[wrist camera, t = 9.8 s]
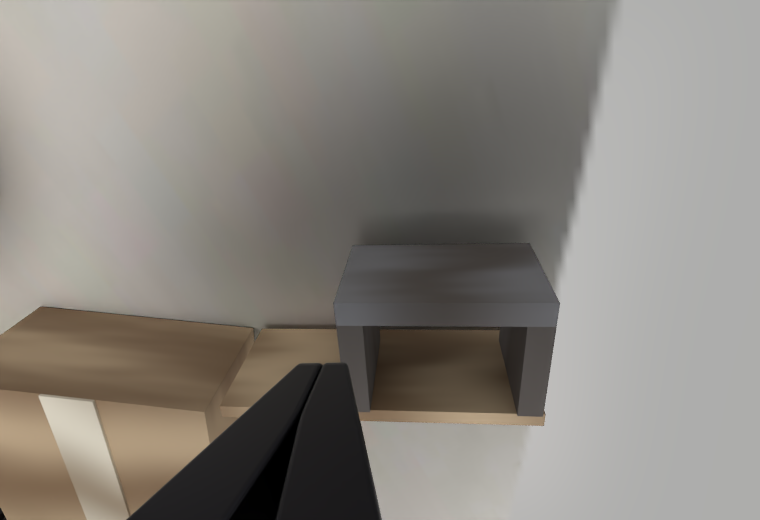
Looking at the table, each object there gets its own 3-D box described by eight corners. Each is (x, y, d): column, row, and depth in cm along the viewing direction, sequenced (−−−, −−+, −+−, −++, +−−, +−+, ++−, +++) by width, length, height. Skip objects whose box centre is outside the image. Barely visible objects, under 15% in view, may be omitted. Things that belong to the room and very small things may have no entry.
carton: (267, 488, 25) (232, 588, 20) (96, 467, 26) (25, 561, 21) (253, 328, 20) (203, 414, 15) (40, 306, 20) (-69, 384, 16)
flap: (528, 235, 17) (563, 303, 12) (517, 340, 19) (544, 428, 14) (243, 239, 18) (187, 303, 13) (263, 337, 20) (221, 419, 16)
